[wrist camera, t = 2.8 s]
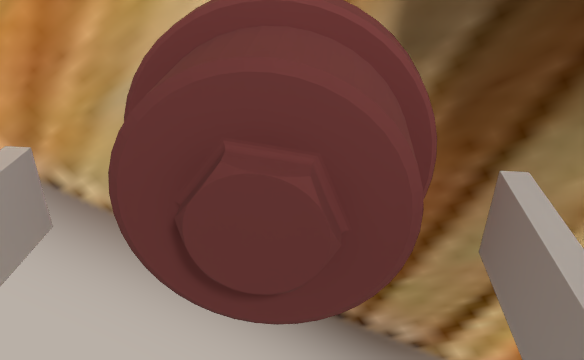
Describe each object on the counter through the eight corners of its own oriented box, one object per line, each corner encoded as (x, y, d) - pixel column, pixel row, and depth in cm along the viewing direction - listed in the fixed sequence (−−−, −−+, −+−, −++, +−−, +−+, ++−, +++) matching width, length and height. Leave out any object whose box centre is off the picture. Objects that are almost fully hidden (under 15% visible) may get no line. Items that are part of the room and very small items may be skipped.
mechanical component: (432, 136, 23) (245, 193, 26) (368, -84, 19) (151, 12, 22) (505, 336, 13) (178, 398, 15) (398, -55, 8) (-33, 125, 11)
